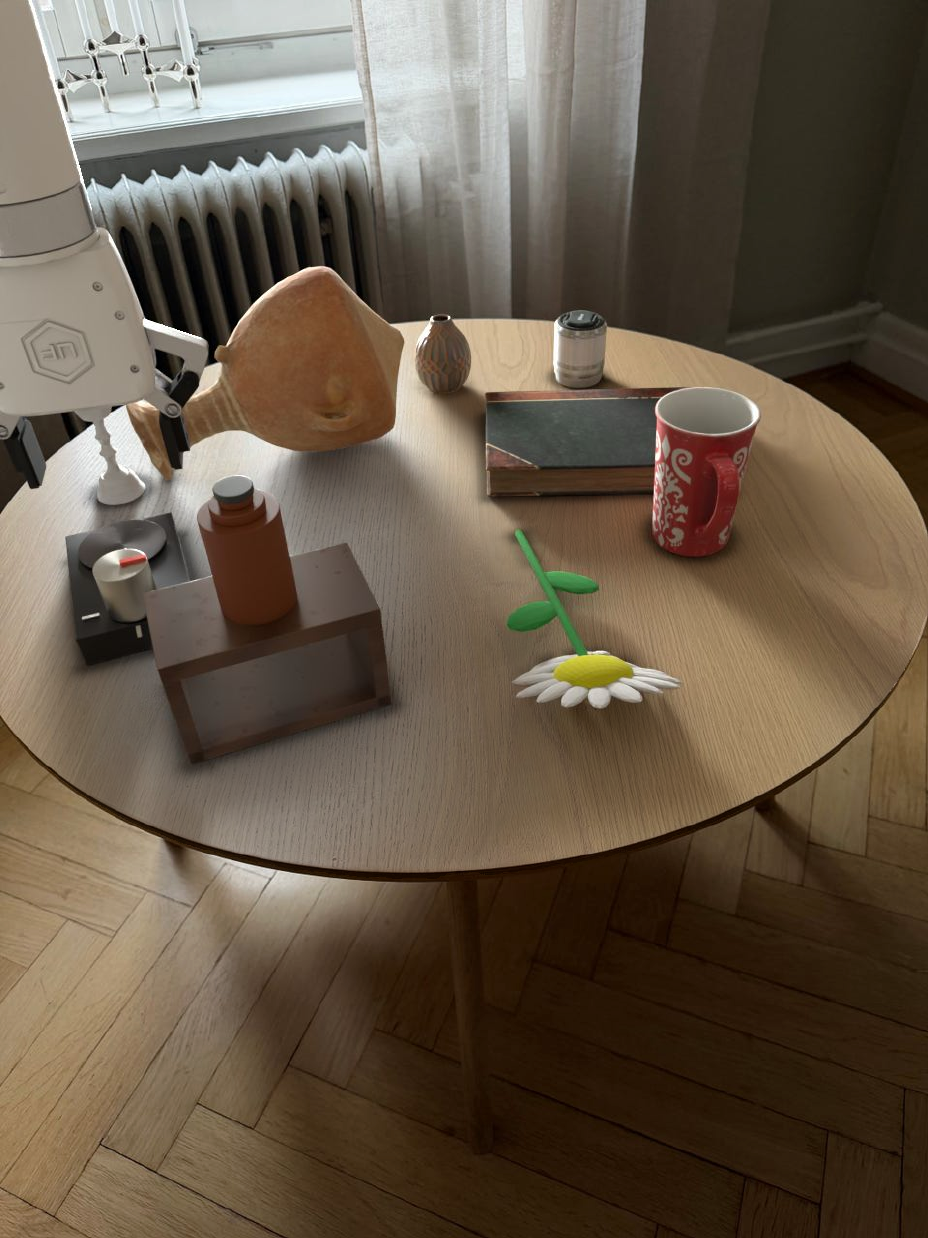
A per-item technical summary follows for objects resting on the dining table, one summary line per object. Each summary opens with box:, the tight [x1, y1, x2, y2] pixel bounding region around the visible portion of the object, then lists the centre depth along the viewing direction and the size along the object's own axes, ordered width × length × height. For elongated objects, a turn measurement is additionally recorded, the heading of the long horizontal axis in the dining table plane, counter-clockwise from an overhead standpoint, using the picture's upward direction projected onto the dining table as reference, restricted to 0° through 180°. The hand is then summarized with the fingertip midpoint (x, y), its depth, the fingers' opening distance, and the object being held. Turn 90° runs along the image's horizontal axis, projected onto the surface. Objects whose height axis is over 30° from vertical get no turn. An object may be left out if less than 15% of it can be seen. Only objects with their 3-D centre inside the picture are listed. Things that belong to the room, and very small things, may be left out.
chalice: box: [73, 406, 146, 506], centre depth 93 cm, size 7×7×18 cm
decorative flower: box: [505, 529, 684, 710], centre depth 78 cm, size 13×5×30 cm
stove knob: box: [93, 549, 157, 623], centre depth 77 cm, size 4×4×5 cm
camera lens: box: [553, 309, 608, 389], centre depth 112 cm, size 6×6×8 cm
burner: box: [78, 518, 167, 570], centre depth 86 cm, size 8×8×1 cm
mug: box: [651, 386, 762, 558], centre depth 83 cm, size 13×9×14 cm
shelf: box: [142, 542, 393, 765], centre depth 71 cm, size 16×9×10 cm, turn 111°
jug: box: [125, 265, 406, 481], centre depth 98 cm, size 20×19×30 cm
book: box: [484, 386, 696, 498], centre depth 100 cm, size 17×4×25 cm
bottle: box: [196, 475, 297, 626], centre depth 65 cm, size 6×6×10 cm
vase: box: [414, 313, 472, 394], centre depth 112 cm, size 7×7×9 cm
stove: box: [64, 511, 191, 667], centre depth 83 cm, size 10×18×3 cm, turn 21°
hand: (109, 469), depth 66 cm, fingers open, 9 cm apart
